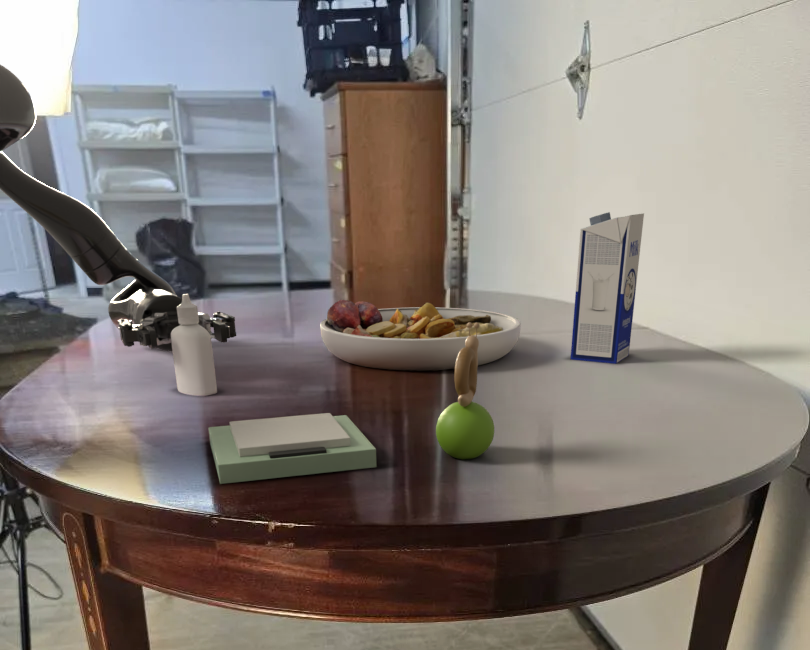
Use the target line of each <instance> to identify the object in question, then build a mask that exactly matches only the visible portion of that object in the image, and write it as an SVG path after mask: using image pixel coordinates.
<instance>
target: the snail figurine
mask: <svg viewBox="0 0 810 650" xmlns="http://www.w3.org/2000/svg"><path fill="white" fill-rule="evenodd" d="M472 326H473V325H472V323H471V322H469V323H467V327H468V328H469V337H468V338H467V339H466V341H465V346H466V347H464V348H462V349H461V350H460V352H459V353H458V356H457V359H456V363H455V369H454V372H453V373H454V374H453V380H454V381H453V382H454V388H455V392H456V394H457V396H458V397H457V401H456V402H452V403H451V404H449V405H448V406H447V407H446V408H445V409H443V410H442V412H441V413H440V415H439V417H438V419H437V422H436V425H435V436H436V439H437V442H438V444H439V446H440V447H441V449H442V450H443V451H444V452H445V453H446V454H447V455H449V456H450V457H452V458H455V459H457V460H473V459H475V458H478V457H480V456H482V455H483V454H485V452H486V451H487V450H488V449H489V447H490V446H491V445H492V442H493V440H494V437H495V423H494V420H493V417H492V415H491V414H490V412H489V411H488V410H487V408H485V407H484V406H483V405H481V404H479V403H478V402H475V401H473V400H474V397H475V395H476V392H477V387H478V366H479V365H478V353H477V351H478V346H479V341H478V338H477V328H479V326H480V324H479V323H477V322H476V323H475V324H474V328H476V336H473V335H471V336H470V328H472Z"/></svg>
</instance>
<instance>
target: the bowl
mask: <svg viewBox="0 0 810 650" xmlns="http://www.w3.org/2000/svg"><path fill="white" fill-rule="evenodd" d="M469 322H471V323H472V325H473V326H472V328H470V336H471V335H473V336H476V328H474V324H475V323H476V322H477V323H479V324H480V326H479V328H477V338H478V341H479V346H478V351H477V353H478V366H481V365H486V364H490V363H492V362H494V361H497V360H499V359H502V357H505V356H506V355H507V354H508V353H510V352H511V350H513V349H514V348H515V346H516V345H517V342H518V341H519V338H520V335H521V324H522V323H521V321H520V319H519V318H516V317H515V316H512V315H509V314H505V313H501V312H496V311H491V310H483V309H474V308H459V307H458V308H457V307H435V306H434V305H433V304H432V303H430V302H425V304H423V305H422V306H421V307H420V306H419V307H418V306H417V307H415V306H413V307H412V306H411V307H391V308H389V307H388V308H377V306H376V305H374V304H373V303H371V302H369V301H362V300H361V301H357V302H355V303H354V302H353V301H351V300H347V299H340V300H338V301H336V302H334V303H333V304H332V305H331V306H330V307H329V308H328V309H327V313H326V318H324V319H323V320H322V321H321V322H320V324H319V329H320V336H321V340H322V342H323V345H324V346H325V348H326V349H327V350H328V351H329V352H330V354H332V355H333V356H335V357H336V358H338V359H339V360H341V361H344V362H346V363H349V364H353V365H354V366H355V365H356V366H360V367H365V368H372V369H378V370H379V369H380V370H390V371H391V370H392V371H412V372H413V371H416V372H417V371H418V372H419V371H421V372H422V371H425V372H426V371H445V370H446V371H447V370H455V363H456V359H457V356H458V353H459V352H460V350H461V349H462V348H464V347H466V346H465V341H466V339H467V338H468V337H469V328H468V327H467V323H469Z"/></svg>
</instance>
